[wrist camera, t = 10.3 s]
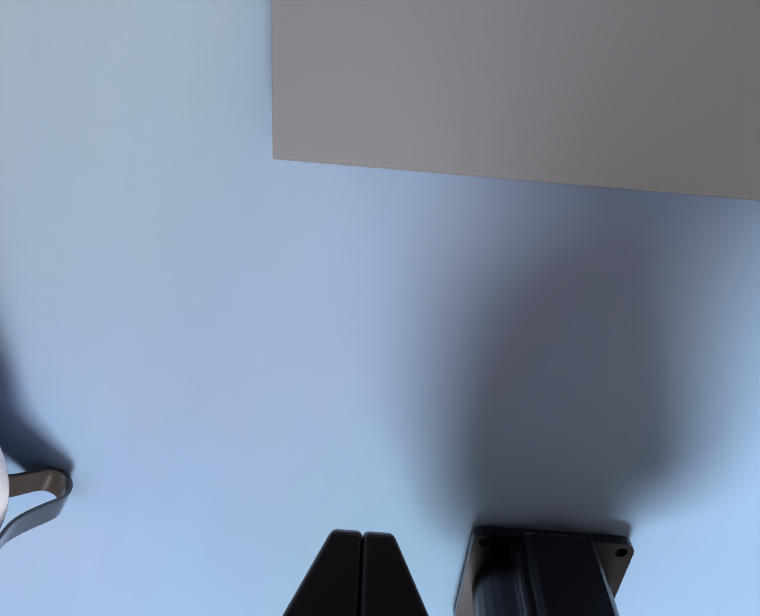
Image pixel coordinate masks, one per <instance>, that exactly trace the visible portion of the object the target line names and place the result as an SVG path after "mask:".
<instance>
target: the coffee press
mask: <svg viewBox="0 0 760 616" xmlns="http://www.w3.org/2000/svg"><path fill="white" fill-rule="evenodd" d="M72 487H73V483H72V479H71V477H70V476H69V475H68V474H67V473H66V472H65V471H63V470H61V469H58V468H53V467H47V468H40V469H36V470H32V471H27V472H22V473H17V474H8V472H7V467H6V463H5V459H4V456H3V453H2V450H1V448H0V528H1V526H2V523H3V521H4V518H5V515H6V511H7V507H8V500H9V497H13V496H17V495H21V494H25V493H29V492H33V491H40V490H43V491H48V492H51V493H53V494H54V495H55V496H56V497H57V498H56V499H54V500H51V501H49V502H46V503H44V504H41V505H39V506H37V507H34V508H32V509H30V510H28V511H26V512H24V513H22V514H20V515H19V516H17V517H16V518H14V519H13V520H12V521H10V522H9V523H8V524H7V525H6V527H5V528H4V529H3V530H2V531H1V533H0V548H1V547H2V546H3V545H4V544H5V543H7V542H8V541H9V540H11V539H12V538H14V537H16V536H18V535H20V534H21V533H23V532H25V531H28V530H30V529H32V528H34V527H36V526H39V525H41V524H43V523H46V522H48V521H50V520H52V519H54V518H56V517H57V516H58V515H59V514H60V512H61V511H62V509H63V507H64V505H65V503H66V500H67V498H68V496H69V494H70V492H71V490H72Z"/></svg>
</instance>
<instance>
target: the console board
mask: <svg viewBox="0 0 760 616" xmlns="http://www.w3.org/2000/svg"><path fill="white" fill-rule="evenodd" d="M272 121H273V159H278V160H290V161H302V162H314V163H325V164H337V165H349V166H360V167H372V168H384V169H396V170H407V171H419V172H431V173H443V174H454V175H466V176H478V177H490V178H501V179H513V180H525V181H537V182H548V183H560V184H572V185H583V186H595V187H607V188H619V189H630V190H642V191H654V192H666V193H677V194H689V195H701V196H713V197H724V198H736V199H748V200H760V0H272Z"/></svg>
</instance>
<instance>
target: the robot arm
mask: <svg viewBox="0 0 760 616" xmlns="http://www.w3.org/2000/svg"><path fill="white" fill-rule="evenodd" d="M483 538H486V539H483ZM633 554H634V549H633V547H632V544H631V542H630V540H629V539H628V538H626V537H623V536H613V535H599V534H586V533H573V532H559V531H546V530H533V529H519V528H506V527H493V526H481V527H478V528H476V529H475V530H473V532H472V535H471V539H470V544H469V548H468V553H467V557H466V562H465V566H464V571H463V575H462V580H461V584H460V588H459V593H458V597H457V602H456V606H455V611H454V615H453V616H619V613H618V610H617V607H616V604H615V601H614V598H615V596H616V594H617V591H618V589H619V587H620V584H621V582H622V579H623V577H624V575H625V572H626V570H627V568H628V565H629V563H630V561H631V558H632V556H633ZM283 616H428V613H427V611H426V609H425V606H424V604H423V602H422V599H421V597H420V595H419V592H418V590H417V588H416V585H415V583H414V581H413V578H412V576H411V574H410V571H409V569H408V567H407V564H406V562H405V560H404V557H403V555H402V553H401V550H400V548H399V546H398V543H397V541H396V539H395V537H394V536H393V535H392V534H390V533H382V532H366V533H364V535H363V537H362V534H361V533H360V532H359V531H355V530H341V529H335V530H333V531H332V532H331V533H330V534H329V536H328V537H327V539H326V541H325V543H324V544H323V546H322V548H321V550H320V551H319V553H318V555H317V556H316V558H315V560H314V562H313V563H312V565H311V567H310V569H309V570H308V572H307V574H306V576H305V577H304V579H303V581H302V583H301V584H300V586H299V588H298V590H297V591H296V593H295V595H294V597H293V598H292V600H291V602H290V604H289V605H288V607H287V609H286V611H285V612H284V614H283Z"/></svg>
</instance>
